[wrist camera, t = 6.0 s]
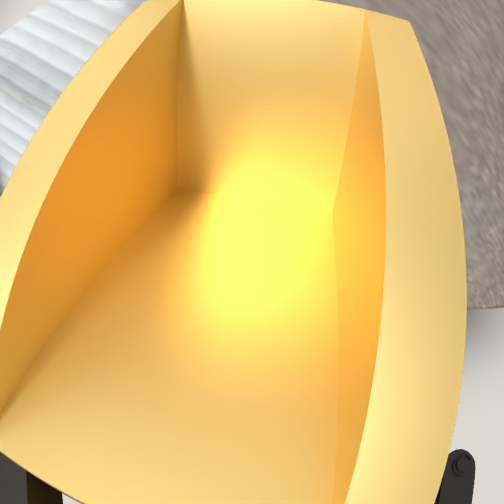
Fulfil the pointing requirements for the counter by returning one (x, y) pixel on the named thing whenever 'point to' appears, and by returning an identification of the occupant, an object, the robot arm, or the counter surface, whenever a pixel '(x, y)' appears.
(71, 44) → the counter surface
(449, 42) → the counter surface
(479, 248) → the counter surface
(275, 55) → the yellow mounting bracket
